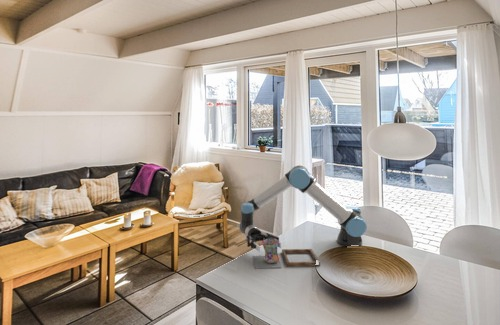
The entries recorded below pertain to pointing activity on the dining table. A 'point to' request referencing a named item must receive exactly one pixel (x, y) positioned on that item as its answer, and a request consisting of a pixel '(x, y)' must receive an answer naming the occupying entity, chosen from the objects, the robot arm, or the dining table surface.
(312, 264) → the frame
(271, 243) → the mug
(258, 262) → the mat
